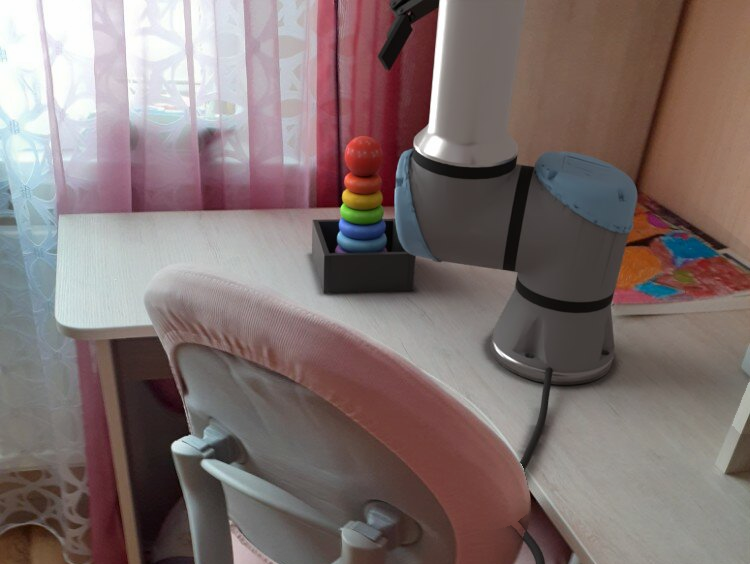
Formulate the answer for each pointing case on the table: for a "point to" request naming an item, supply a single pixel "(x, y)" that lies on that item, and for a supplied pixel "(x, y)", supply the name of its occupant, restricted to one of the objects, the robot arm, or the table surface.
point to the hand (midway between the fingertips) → (422, 74)
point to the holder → (360, 262)
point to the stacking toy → (362, 200)
